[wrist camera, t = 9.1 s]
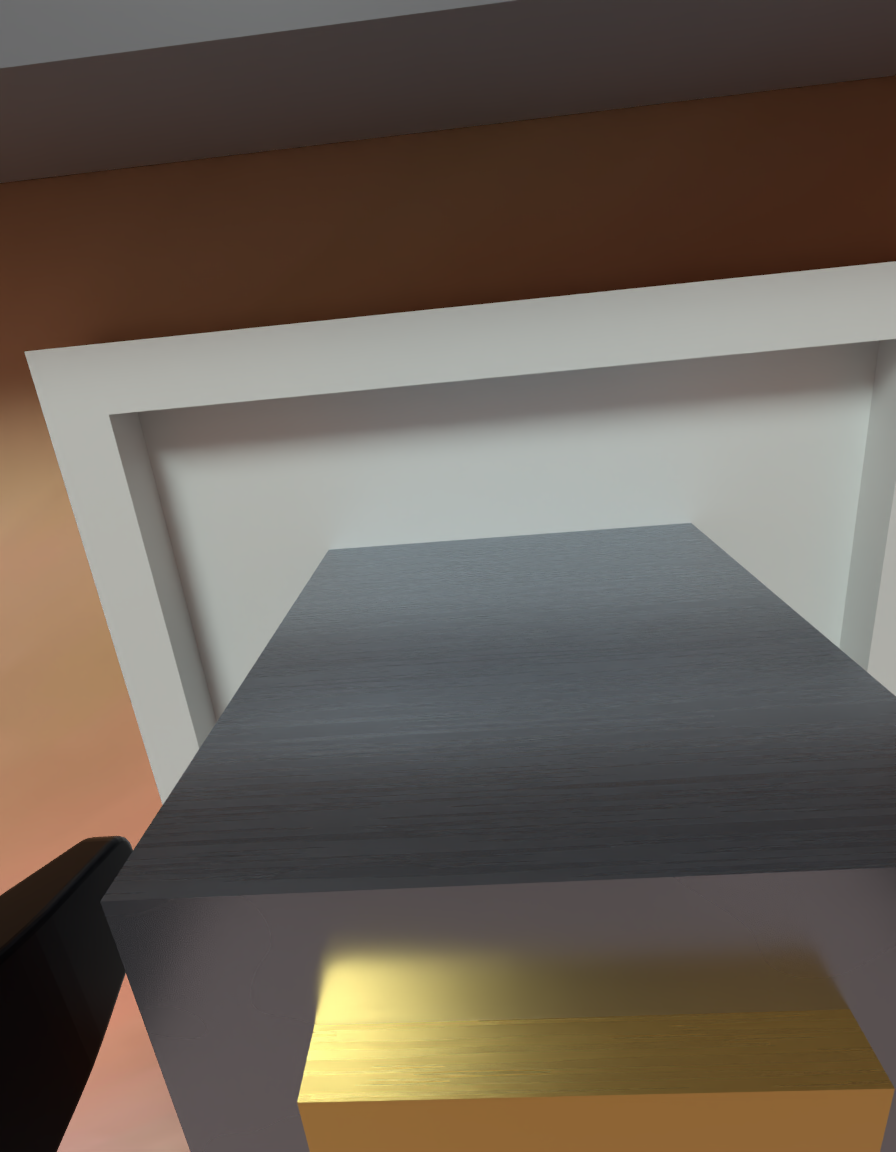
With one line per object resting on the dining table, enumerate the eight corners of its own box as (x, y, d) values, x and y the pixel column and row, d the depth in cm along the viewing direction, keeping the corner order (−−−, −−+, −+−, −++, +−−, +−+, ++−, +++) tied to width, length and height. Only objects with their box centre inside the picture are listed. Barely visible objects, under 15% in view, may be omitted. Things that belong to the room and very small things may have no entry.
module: (690, 523, 9) (1171, 932, 3) (677, 817, 10) (953, 1460, 5) (328, 549, 9) (57, 970, 3) (373, 832, 11) (255, 1454, 5)
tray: (931, 261, 8) (1006, 249, 7) (831, 922, 12) (869, 984, 11) (81, 348, 9) (24, 350, 8) (246, 947, 12) (225, 1008, 11)
